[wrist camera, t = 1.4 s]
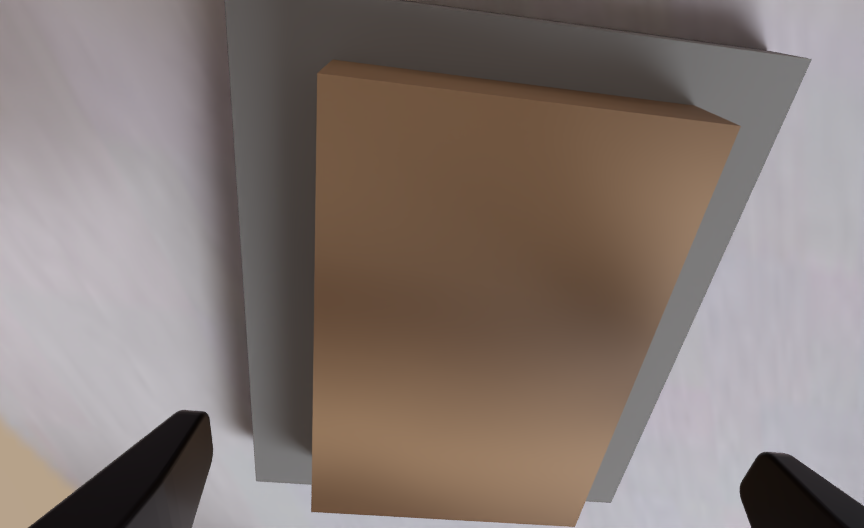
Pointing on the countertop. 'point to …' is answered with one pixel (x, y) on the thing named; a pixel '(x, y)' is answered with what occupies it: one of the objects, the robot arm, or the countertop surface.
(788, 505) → the robot arm
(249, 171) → the trivet
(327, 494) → the walnut board
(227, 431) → the countertop surface
